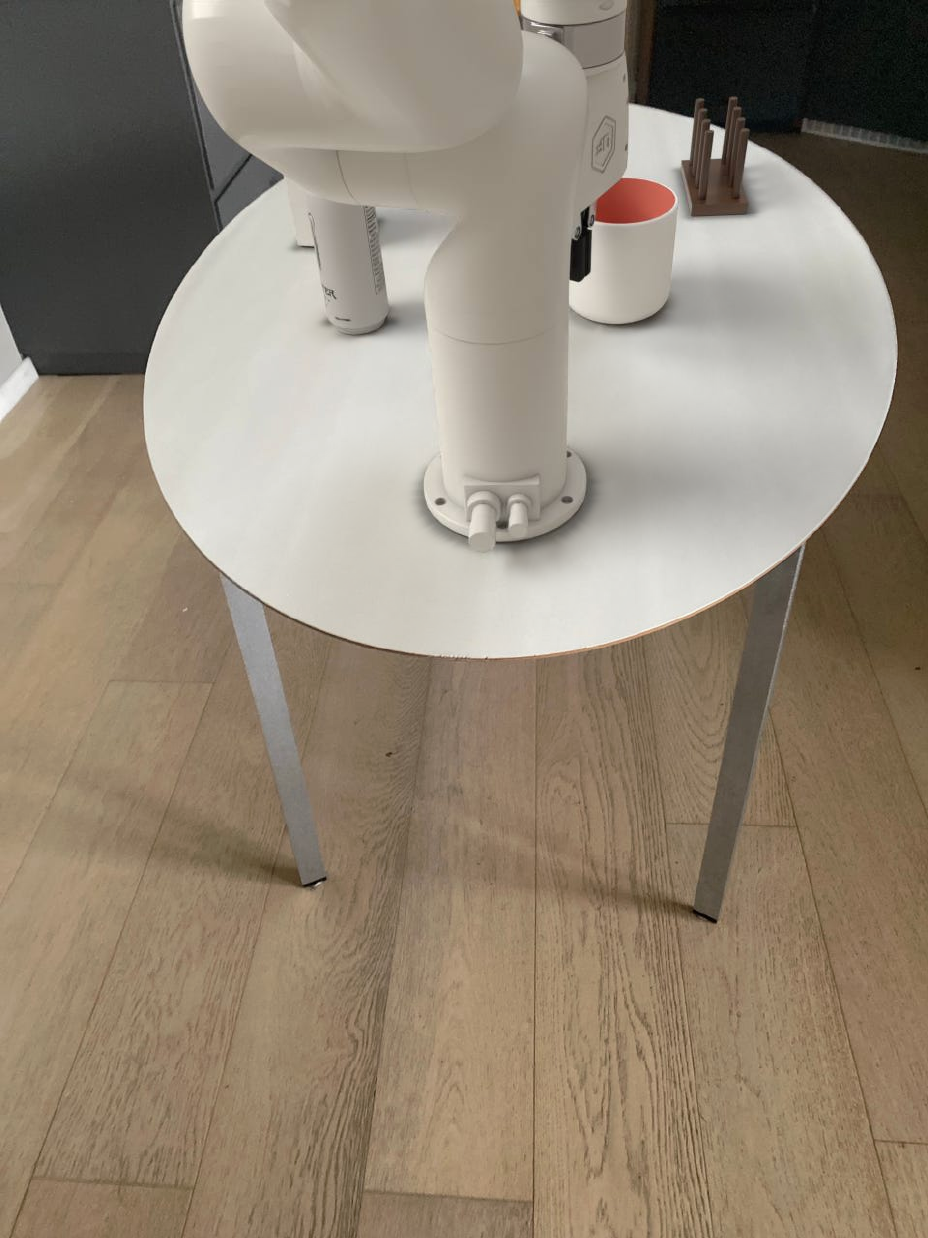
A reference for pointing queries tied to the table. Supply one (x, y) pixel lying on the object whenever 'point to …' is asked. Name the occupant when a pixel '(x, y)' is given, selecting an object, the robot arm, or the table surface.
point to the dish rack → (716, 165)
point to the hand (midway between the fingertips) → (569, 274)
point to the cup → (629, 253)
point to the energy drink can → (349, 263)
